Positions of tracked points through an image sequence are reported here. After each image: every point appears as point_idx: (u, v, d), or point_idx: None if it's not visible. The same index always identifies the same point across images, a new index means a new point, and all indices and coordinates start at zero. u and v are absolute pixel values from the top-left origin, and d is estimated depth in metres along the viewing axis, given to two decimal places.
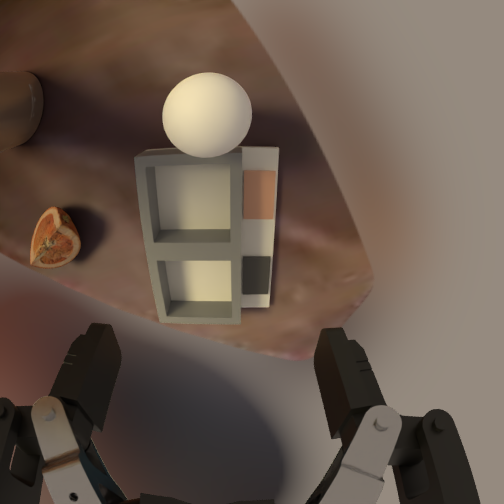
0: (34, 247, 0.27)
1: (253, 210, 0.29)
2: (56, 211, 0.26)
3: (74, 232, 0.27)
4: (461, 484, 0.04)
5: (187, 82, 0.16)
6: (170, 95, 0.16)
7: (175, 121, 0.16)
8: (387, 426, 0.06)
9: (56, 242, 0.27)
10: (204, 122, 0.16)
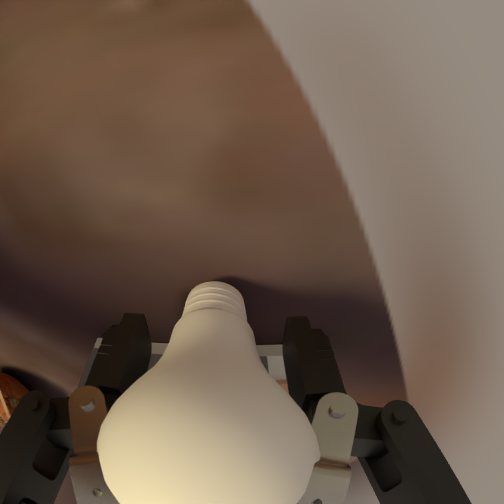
0: None
1: None
2: (0, 391, 0.14)
3: None
4: (436, 472, 0.05)
5: (142, 498, 0.04)
6: None
7: None
8: (342, 413, 0.07)
9: None
10: None
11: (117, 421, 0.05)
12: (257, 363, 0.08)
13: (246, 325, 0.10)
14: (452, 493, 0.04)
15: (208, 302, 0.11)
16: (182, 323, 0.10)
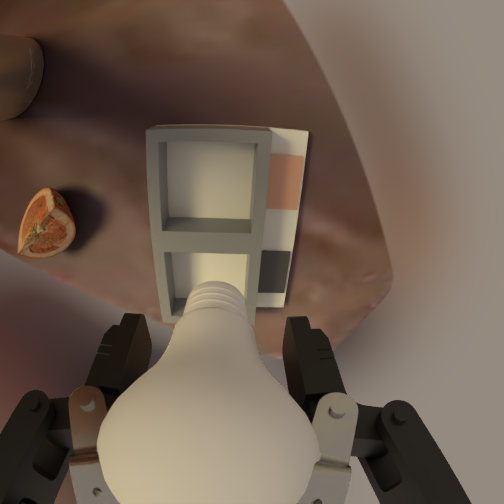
0: (22, 233, 0.23)
1: (276, 199, 0.26)
2: (49, 192, 0.22)
3: (69, 217, 0.23)
4: (436, 472, 0.05)
5: (142, 497, 0.04)
6: None
7: None
8: (341, 413, 0.07)
9: (47, 228, 0.23)
10: None
11: (117, 420, 0.05)
12: (258, 362, 0.08)
13: (247, 325, 0.10)
14: (452, 494, 0.04)
15: (209, 301, 0.11)
16: (183, 322, 0.10)
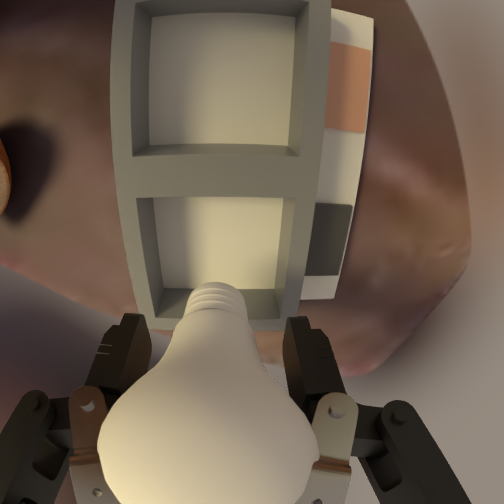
0: None
1: (332, 111, 0.14)
2: None
3: None
4: (436, 472, 0.05)
5: (142, 498, 0.04)
6: None
7: None
8: (341, 413, 0.07)
9: None
10: None
11: (117, 421, 0.05)
12: (258, 364, 0.08)
13: (247, 326, 0.10)
14: (451, 493, 0.04)
15: (209, 302, 0.11)
16: (183, 323, 0.10)
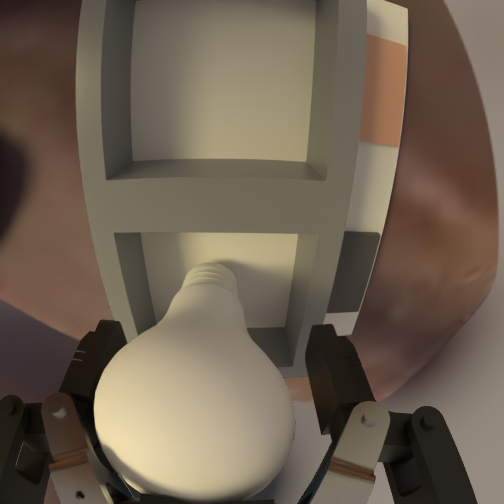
0: None
1: (362, 119, 0.11)
2: None
3: None
4: (455, 481, 0.04)
5: (126, 430, 0.05)
6: (98, 426, 0.06)
7: None
8: (375, 422, 0.06)
9: None
10: None
11: (113, 366, 0.07)
12: (240, 328, 0.09)
13: (235, 298, 0.11)
14: (465, 503, 0.03)
15: (202, 278, 0.12)
16: (178, 296, 0.11)
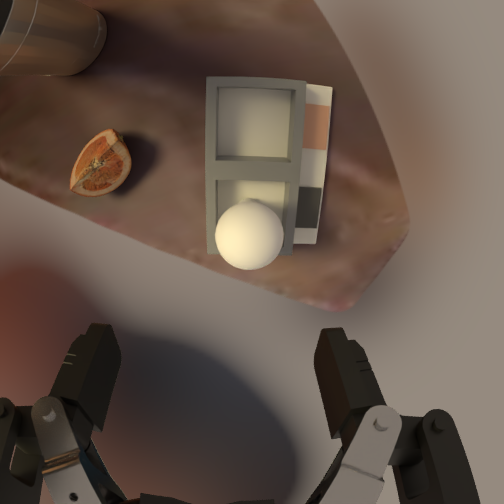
0: (76, 172, 0.27)
1: (309, 140, 0.30)
2: (110, 131, 0.26)
3: (128, 152, 0.27)
4: (461, 484, 0.04)
5: (236, 219, 0.24)
6: (223, 226, 0.24)
7: (229, 251, 0.24)
8: (387, 426, 0.06)
9: (105, 163, 0.27)
10: (252, 255, 0.24)
11: (228, 210, 0.25)
12: None
13: None
14: None
15: (246, 201, 0.31)
16: None
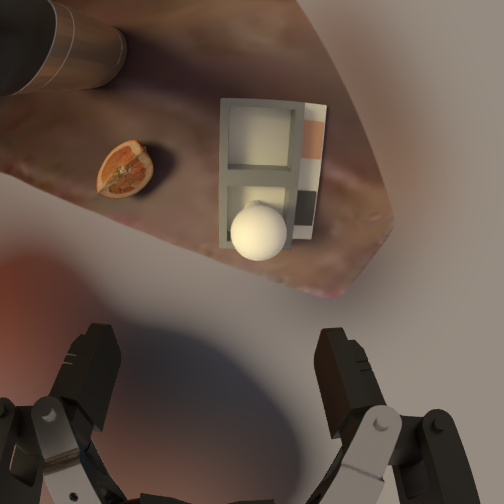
0: (102, 177, 0.33)
1: (306, 151, 0.35)
2: (134, 142, 0.31)
3: (151, 161, 0.32)
4: (461, 484, 0.04)
5: (249, 219, 0.29)
6: (238, 226, 0.30)
7: (244, 245, 0.30)
8: (387, 426, 0.06)
9: (130, 170, 0.32)
10: (263, 248, 0.30)
11: (241, 212, 0.31)
12: None
13: None
14: None
15: (253, 203, 0.36)
16: (247, 207, 0.35)
